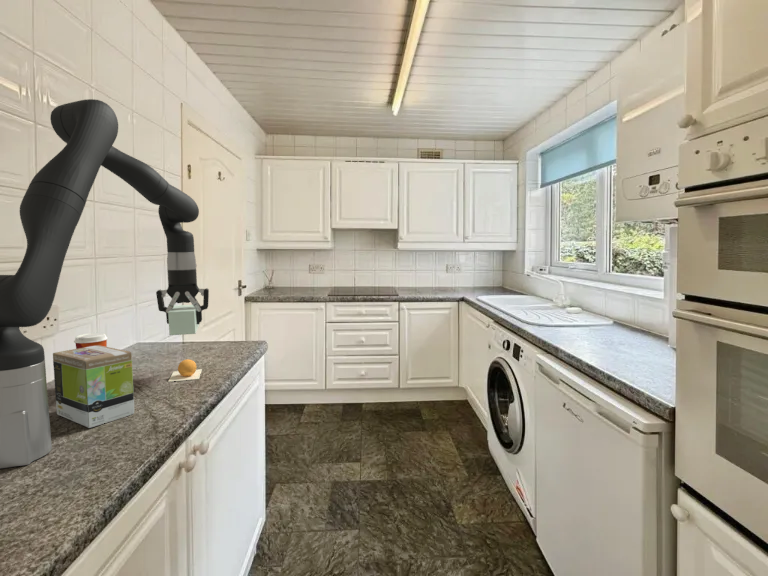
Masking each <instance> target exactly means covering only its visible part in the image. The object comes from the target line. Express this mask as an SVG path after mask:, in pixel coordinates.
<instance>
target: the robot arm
mask: <svg viewBox="0 0 768 576" xmlns="http://www.w3.org/2000/svg"><path fill="white" fill-rule="evenodd" d="M50 124H51V127H52V129H53V131H54V132H55V134H56V135H57V137H59V138H60V139H61V140H62V141H63V142H64V143H65V146H64V147H63V148H62V149H61V150H60V151H59V152H58V153H57V154H56V155H54V157H52V159H50V160H49V161H48V162H47V163H46V164H45V165H44V166H43V167H42V168H40V169H39V171H38V172H37V173H36V174H35V175H34V177H33V178H32V180H31V181H30V183H29V185H28V186H27V189H26V190H25V193H24V196H23V197H22V200H21V203H20V205H19V217H20V221H21V226H22V229H23V232H24V234H25V235H24V236H25V238H26V249H25V254H24V256H23V259H22V260H21V261H22V262H21V264H20V265H19V268H18V269H17V271H16V273H14V274H0V469H6V468H7V469H8V468H13V467H19V466H20V467H21V466H22V467H23V466H26V465H30V464H31V463H32V462H33V461H36V460H38V459H40V458H42V457H44V456H45V455H47V454H49V453H50V452H51V451H52V449H53V448H52V446H53V445H52V444H53V443H52V434H51V433H52V431H51V423H50V410H49V399H48V397H49V396H48V384H47V371H46V369H47V368H46V359H45V358H46V357H45V349H44V346H43V345H42V344H40V343H38V342H37V341H34V340H32V339H30V338H28V337H26V335H24V334H23V333H22V332H21V330H20V328H29V327H34V326H37V325H38V324H40V323H41V322H42V321H44V320H45V319H46V317H47V316H48V314H49V313H50V311H51V309H52V307H53V304H54V300H55V297H56V292H57V288H58V285H59V280H60V278H61V272H62V270H63V266H64V262H65V259H66V257H67V256H66V255H67V253H68V252H67V251H68V250H69V246H70V245H71V241H72V237H73V236H74V233H75V230H76V228H77V226H78V224H79V221H80V219H81V217H82V214H83V211H84V210H85V206H86V204H87V201H88V197H89V194H90V193H91V190H92V188H93V185H94V182H95V180H96V178H97V175H98V173H99V171H100V168H101V167H103V168H104V169H106V170H108V171H109V172H111V173H112V174H113V175H115V176H117V177H118V178H120V179H121V180H123V181H124V182H125V183H127V184H128V185H129V186H130V187H132V188H133V189H134V190H135V191H137V192H138V193H139V194H140V195H141V196H143V197H144V199H146V200H147V201H148V202H150V203H151V204H153V205H156V206H158V217H159V220H160V224H161V226H162V229H163V232H164V235H165V237H166V249H167V250H166V251H167V253H166V254H167V256H166V266H167V267H166V268H167V270H166V271H167V284H168V286H167V289H158V290H157V291H155V295H156V301H157V308H158V311H160V312H163V313H165V316H166V318H165V319H166V323H167V324H168V325H169V318H168V312H169V311H170V310H171V309H172V308H173V307H174V306H176V303H177V304H182V303H185V304H187V303H188V304H189V303H191V305H193V306H194V307H195V308H196V310H197V312H196V320H197V324H199V325H200V324H201V323H202V320H203V311H205V310H207V309H208V307H209V300H210V299H209V297H210V294H209V292H210V291H209V290H210V289H209V288H208V287H207V288H199V287H198V280H197V279H198V277H197V261H196V254H195V240H194V234H193V233H192V232H190V231H186V230H184V229H183V226H182V224H183V223H184V224H185V223H192V222H193V223H194V222H195V221H196V220H197V219H198V217H199V214H200V211H199V206H198V204H197V203H196V201H195V199H194V198H192V196H190V195H188V194H187V193H185V192H184V191H182V190H180V189H179V188H177V187H175V186H174V185H172V184H170V183H169V182H168V181H167V180H166V179H165V178H164V177H163V176H162V175H161V174H160V173H159V172H157V170H156V169H154V168H153V167H151V165H150V164H147V163H145V162H143V161H142V160H140V159H138V158H136V157H133V156H132V155H130V154H128V153H125V152H123V151H121V150H120V149H119V148H116V147H114V146H113V145H114V144H115V141H116V139H117V136H118V133H119V122H118V117H117V115H116V113H115V111H114V109H113V108H112V107H111V106H110V105H109V104H108V103H106V102H105V101H103V100H100V99H95V98H94V99H93V98H92V99H91V98H90V99H81V100H76V101H72V102H68V103H67V102H66V103H63V104H61V105H58V106H56V107H54V108H53V110H51V112H50ZM181 223H182V224H181ZM198 293H200V295H201V296H202V297H203V300H202V302H203V304H202V305H200V303H199V301H198V299H197V298H196V297H197V295H198ZM166 294H167V295H168V296H169V297H170V298H171V300H170V302H169V304H168V306H165V301H164V298H165V297H166ZM167 324H166V325H167Z"/></svg>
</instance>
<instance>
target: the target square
mask: <svg viewBox="0 0 768 576" xmlns="http://www.w3.org/2000/svg"><path fill="white" fill-rule="evenodd" d="M202 371H203V369H202V368H201V369H196V371H195V373H194V374H193V375H191V376H187V377H185V376H182V375H181V374H180V373H179V372H178V370H177V371H175V370H174V371H172V374H171V375H170V377H169V379H168V383H173V382H174V381H176V382H183V381H184V382H185V381H186V380H187V381H195V380H200V379H201V378H200V377H201V375H200V374H202Z"/></svg>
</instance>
